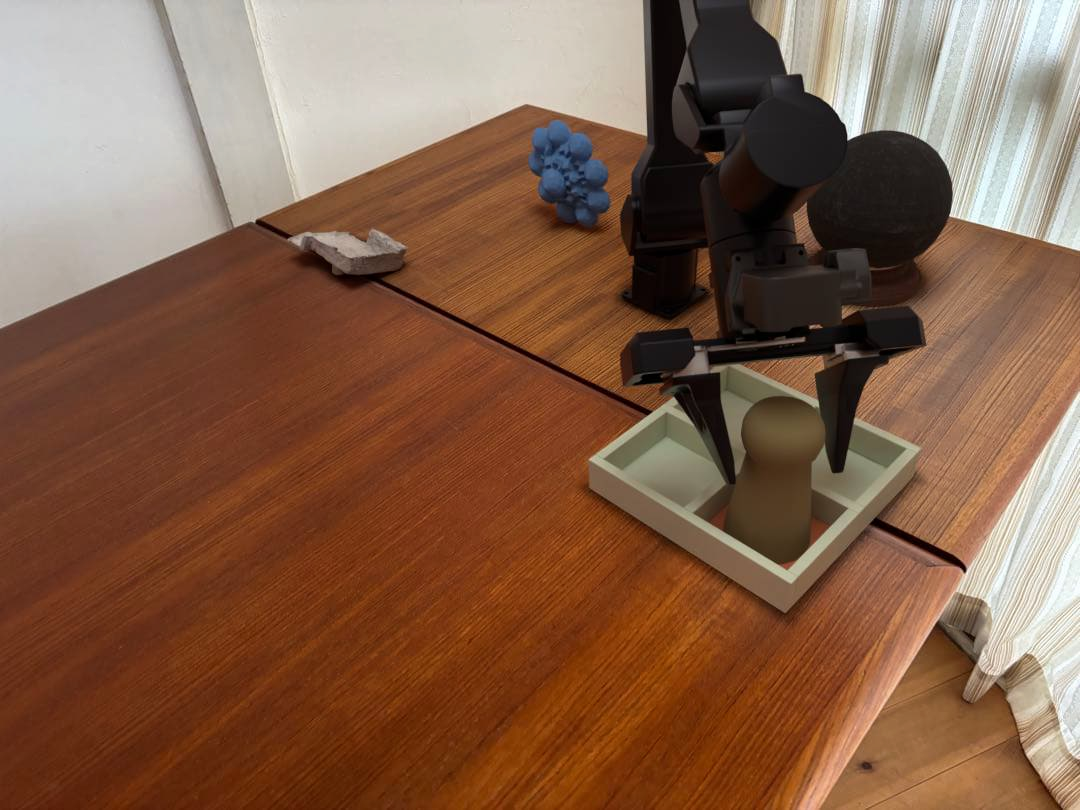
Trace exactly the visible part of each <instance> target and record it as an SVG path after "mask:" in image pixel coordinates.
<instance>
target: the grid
mask: <svg viewBox="0 0 1080 810" xmlns="http://www.w3.org/2000/svg"><path fill="white" fill-rule="evenodd" d="M715 372H720V380H721V403H722V408H723V412H724V417H725V421H726V426H727V430H728V435H729V439H730V444H731V448H732V453H733V457H734V464H735V475H736V482H737V479H738V476H739V473H740V469H741V466H742V463H743V460H744V457H745V454H746V451H745V449H744V446H743V443H742V438H741V428H742V422H743V418H744V416H745V414H746V413H747V411H748V410H749V409H750V407H752V406H753V405H754V404H755V403H757V402H758V401H760V400H762V399H764V398H768V397H771V396H787V397H794V398H797V399H800V400H803V401H805V402H806V403H808V404H810V405H812V406H813V407H814V408H815V409H816V410H817V411H818V412H819V414H820V409H819V402H818V399H816V398H814V397H812V396H810V395H808V394H805V393H803V392H801V391H799V390H796V389H795V388H792V387H791V386H788V385H786V384H783V383H781V382H779V381H777V380H774V379H773V378H770V377H768V376H766V375H764V374H762V373H760V372H758V371H755V370H753V369H750V368H749V367H746V366H745V365H742V364H734V365H725V366H715V367H711V369H710V373H715ZM921 451H922V447H921V446H919V445H917V444H914V443H912V442H910V441H907V440H906V439H903V438H901V437H899V436H896V435H895V434H892V433H890V432H888V431H886V430H884V429H881V428H879V427H877V426H875V425H873V424H870V423H868V422H866V421H864V420H862V419H860V418H858V417H855V419H854V423H853V428H852V433H851V438H850V443H849V448H848V452H847V457H846V462H845V467H844V471H843V472H842V473H836V474H833V473H832V471H831V468H830V465H829V461H828V458H827V454H826V450H825V443H824V446H823V448H822V450H821V451H820V453H819V455H818V456H817V458H816V460H815V461H813V462H812V476H811V532H810V545H809V547H808V549H807V550H806V552H805V553H804V554H803V555H802V556H801V557H799V558H798V559H797V560H795V561H792V562H789V563H786V564H779V565H777V564H776V563H774V562H772V561H771V560H769V559H768V558H766V557H764V556H763V555H761V554H759V553H758V552H756V551H754V550H753V549H751V548H749V547H748V546H746V545H744V544H743V543H741V542H739V541H738V540H736V539H734V538H733V537H731V536H729V535H728V534H726V533H725V532H723V526H724V520H725V517H726V514H727V510H728V507H729V504H730V501H731V498H732V495H733V491H734V488H735V485H736V484H734V485H727V484H726V483H725V481H724V479H723V477H722V475H721V473H720V472H719V470H718V468H717V466H716V464H715V462H714V460H713V459H712V457H711V455H710V453H709V451H708V449H707V447H706V446H705V444H704V442H703V440H702V438H701V436H700V435H699V433H698V431H697V429H696V428H695V426H694V425H693V423H692V422H691V420H690V419H689V418H688V416H687V415H686V413H685V412H684V411H683V409H682V408H681V406H680V405H679V403H678V402H677V401H676V399H675V398H674V397H673V396H672V397H671V398H670V399H669V400H667V401H666V402H665V403H663V404H662V405H660V406H659V407H658V408H657V409H655V410H654V411H652V412H651V413H650V414H648V415H647V416H646V417H644V418H643V419H641V420H640V421H638V422H637V423H636V424H635V425H633V426H631V428H629V429H628V430H626V431H625V432H624V433H622V434H621V435H620V436H618V437H616V438H615V439H614V440H612V441H611V442H610V443H608V444H607V445H606V446H604V447H603V448H602V449H601V450H599V451H598V452H597V453H596V454H594V455H593V456H591V457H589V459H588V488H589V489H590V490H592V491H593V492H594V493H596V494H598V495H600V496H601V497H602V498H604V499H605V500H607V501H609V502H610V503H612V504H613V505H615V506H617V507H618V508H620V509H621V510H623V511H624V512H626V513H628V514H629V515H630V516H632V517H633V518H636V520H638V521H640V522H642V523H643V524H645V525H646V526H648V527H649V528H651V529H653V530H654V531H656V532H657V533H659V534H660V535H662V536H664V538H666V539H668V540H670V541H671V542H673V543H674V544H676V545H677V546H679V547H680V548H682V549H683V550H685V551H687V552H688V553H690V554H692V555H693V556H695V557H697V558H698V559H699V560H701V561H702V562H703V563H706V564H707V565H708V566H710V567H712V568H713V569H714V570H717V571H718V572H719V573H721V574H723V575H724V576H726V577H727V578H729V579H731V580H732V581H734V582H735V583H736V584H739V585H740V586H741V587H743V588H745V589H746V590H748V591H750V592H751V593H752V594H754V595H755V596H757V597H759V598H760V599H762V600H763V601H765V602H766V603H768V604H770V605H771V606H772V607H774V608H775V609H778V610H779V611H781V612H782V613H784V614H787V613H788V611H789V610H790V609H791V608H792V607H793V606H794V605H796V603H797V602H798V601H799V600H800V599H801V597H803V596H804V594H805V593H806V592H807V591H808V590H809V589H810V588H811V587H812V586H813V585H814V584H815V582H817V581H818V580H819V578H821V576H822V575H823V574H824V573H825V572H826V571H827V570H828V569H829V568H830V566H831V565H833V563H835V561H836V560H837V559H838V558H839V557H840V556H841V555H842V554H843V553H844V552H845V550H846V549H848V547H849V546H850V545H851V544H852V543H853V542H854V541H855V540H856V539H857V538H858V537H859V536H860V534H862V532H864V530H865V529H866V528H867V527H868V526H869V525H870V524H871V523H872V522H873V521H874V520H875V519H876V518H877V516H878V515H879V514H880V513H881V512H882V511H883V510H884V509H885V508H886V507H887V506H888V505H889V504H890V503H891V502H892V501H893V499H894V498H895V497H896V496H897V495H898V494H899V493H900V491H902V490H903V489H904V488H905V487H906V485H907V484H908V483H910V481H911V480H912V479H913V478H914V475H915V471H916V468H917V465H918V461H919V459H920V455H921Z"/></svg>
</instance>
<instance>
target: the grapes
mask: <svg viewBox="0 0 1080 810" xmlns="http://www.w3.org/2000/svg"><path fill="white" fill-rule="evenodd" d="M531 144H532V147H533V149H534V150H532V151H531V152H530V153H529V155H528V159H527V160H528V161H527V164H528V168H529V170H530V171H531V173H532V174H533V175H535V176H536V177H538V178H540V180H539V181H538V185H537V192H538V195H539V197H540V199H542V200H543V201H544V202H545V203H548V204H551V205H552V204H555V211H556V214H557V216H558V218H559V219H560V220H561V221H562V222H563V223H567V224H573V223H575V222H576V221H577V222H578V224H580V225H581V226H583V227H585V228H587V229H589V228H593V227H596V225H597V223H598V222H599V216H600V215H603V214H606V213H607V212H608V210H610V208H611V207H610V206H611V197H610V195H609V193H608V192H607V190H606V189H605V188H603V187H605V185H606V184H607V183H608V180H609V171H608V168H607V166H606V165H605V163H603V162H602V161H601V160H599V159H597V158H592V156H593V153H594V146H593V143H592V141H591V139H590V138H589V136H587V135H586V134H585V133H583V132H580V131H578V132H574V133H572V131H571V129H570V127H569V125H568V124H567V123H565V122H564V121H563V120H560V119H555V120H552V121H551V122H550V123H549V125H548V127H547V128H546V127H542V126H540V127H537V128H535V130H534V131H533V132H532V135H531Z"/></svg>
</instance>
